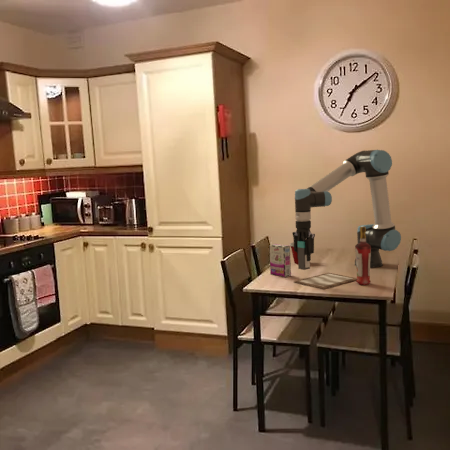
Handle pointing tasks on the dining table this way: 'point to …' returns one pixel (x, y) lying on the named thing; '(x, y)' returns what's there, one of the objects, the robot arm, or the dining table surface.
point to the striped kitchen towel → (325, 280)
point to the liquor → (363, 259)
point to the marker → (301, 255)
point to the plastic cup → (294, 253)
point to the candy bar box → (280, 260)
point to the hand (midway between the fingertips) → (304, 266)
